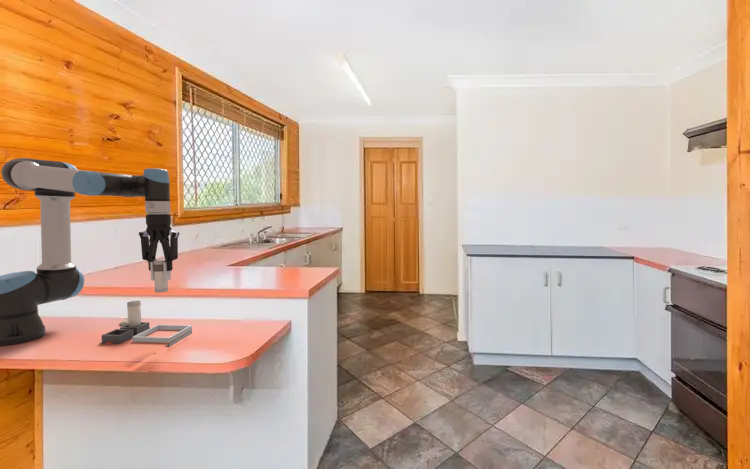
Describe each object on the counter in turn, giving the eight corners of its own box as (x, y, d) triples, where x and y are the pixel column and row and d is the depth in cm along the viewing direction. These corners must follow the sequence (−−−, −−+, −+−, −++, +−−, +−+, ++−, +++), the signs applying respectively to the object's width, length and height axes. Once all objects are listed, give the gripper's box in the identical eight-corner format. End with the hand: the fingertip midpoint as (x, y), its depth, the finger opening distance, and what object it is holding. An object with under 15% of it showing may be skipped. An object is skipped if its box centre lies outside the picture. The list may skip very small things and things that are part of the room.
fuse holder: (98, 348, 120) (97, 336, 120) (134, 331, 137) (133, 321, 136) (118, 348, 120) (117, 337, 120) (151, 332, 136) (151, 321, 136)
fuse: (125, 333, 131) (124, 303, 130) (134, 329, 135) (132, 300, 134) (136, 333, 130) (135, 303, 129) (144, 329, 134) (143, 300, 134)
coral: (117, 330, 139) (117, 319, 138) (122, 322, 148) (121, 312, 148) (135, 328, 141) (134, 317, 141) (138, 320, 150) (138, 310, 150)
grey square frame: (132, 345, 123) (132, 336, 122) (158, 332, 136) (158, 324, 135) (169, 346, 122) (169, 338, 121) (192, 333, 135) (191, 325, 135)
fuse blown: (152, 292, 125) (150, 261, 125) (159, 289, 129) (158, 259, 129) (163, 292, 125) (161, 261, 124) (170, 290, 129) (169, 259, 128)
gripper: (126, 213, 122) (130, 281, 124) (175, 213, 121) (177, 282, 123) (142, 213, 130) (145, 277, 131) (188, 213, 128) (190, 278, 130)
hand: (161, 279), depth 127 cm, fingers closed on fuse blown, 4 cm apart
